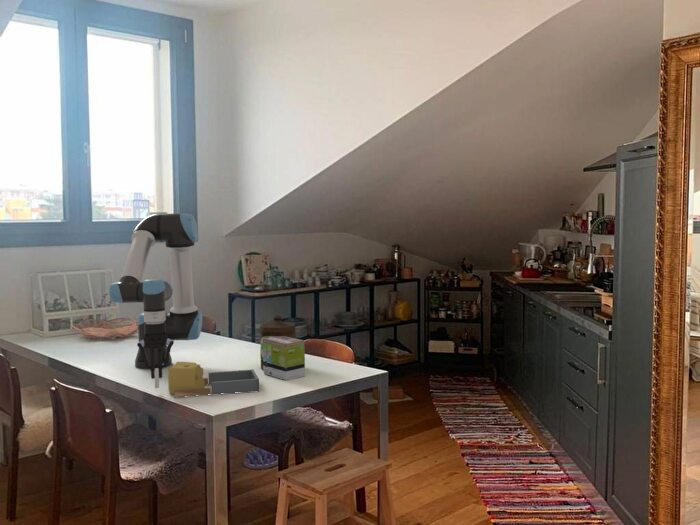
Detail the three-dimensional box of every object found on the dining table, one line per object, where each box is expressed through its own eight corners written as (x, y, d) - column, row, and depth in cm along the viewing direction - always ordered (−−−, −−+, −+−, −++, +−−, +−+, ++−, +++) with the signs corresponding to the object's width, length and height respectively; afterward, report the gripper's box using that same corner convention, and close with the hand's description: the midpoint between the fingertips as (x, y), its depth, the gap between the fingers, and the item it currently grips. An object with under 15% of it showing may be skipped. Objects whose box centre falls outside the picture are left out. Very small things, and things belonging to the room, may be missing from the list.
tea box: (262, 374, 282) (261, 338, 281) (282, 370, 289) (281, 334, 288) (286, 381, 271) (285, 343, 270) (306, 376, 278) (305, 339, 277)
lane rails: (174, 386, 264) (173, 380, 264) (208, 384, 268) (207, 377, 267) (174, 397, 249) (174, 391, 249) (210, 395, 252) (210, 388, 252)
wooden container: (256, 371, 288) (255, 317, 286) (266, 363, 302) (265, 312, 301) (291, 372, 285) (290, 318, 284) (300, 364, 300) (299, 312, 298)
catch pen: (208, 384, 268) (208, 372, 267) (253, 381, 272) (253, 369, 272) (211, 395, 252) (211, 382, 252) (259, 391, 257) (258, 379, 256)
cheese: (204, 388, 263) (204, 361, 262) (195, 395, 252) (194, 368, 251) (177, 387, 264) (176, 361, 263) (167, 395, 253) (166, 367, 252)
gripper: (135, 325, 248) (137, 391, 250) (173, 323, 251) (175, 388, 253) (136, 321, 255) (138, 385, 257) (173, 319, 258) (175, 383, 260)
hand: (157, 387), depth 255 cm, fingers closed
